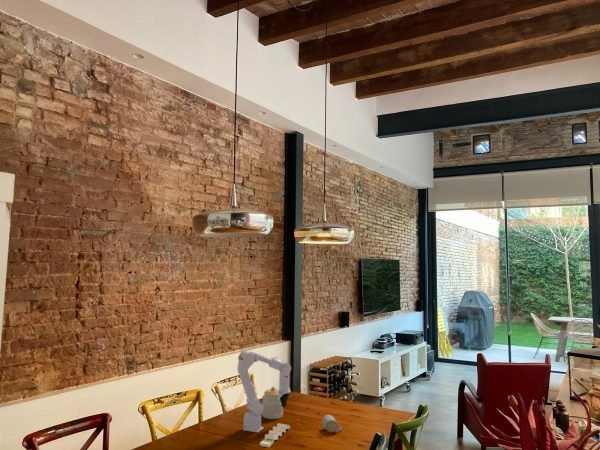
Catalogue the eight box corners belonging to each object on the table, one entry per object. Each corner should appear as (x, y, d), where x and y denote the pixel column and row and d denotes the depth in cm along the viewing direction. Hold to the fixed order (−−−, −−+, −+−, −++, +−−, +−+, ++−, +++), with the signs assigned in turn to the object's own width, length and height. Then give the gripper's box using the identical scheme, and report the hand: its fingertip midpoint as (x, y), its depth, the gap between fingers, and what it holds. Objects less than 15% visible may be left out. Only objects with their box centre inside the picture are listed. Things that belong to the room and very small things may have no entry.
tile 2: (277, 431, 258) (272, 430, 252) (278, 427, 259) (273, 426, 253) (285, 432, 256) (280, 431, 250) (286, 428, 257) (281, 427, 251)
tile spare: (265, 442, 242) (259, 446, 236) (265, 438, 243) (259, 442, 236) (273, 443, 241) (268, 448, 234) (274, 439, 241) (268, 444, 234)
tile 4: (268, 438, 246) (264, 438, 240) (269, 434, 247) (265, 434, 241) (277, 439, 245) (273, 439, 239) (278, 435, 246) (274, 435, 239)
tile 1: (281, 428, 263) (276, 426, 257) (282, 424, 264) (277, 423, 258) (289, 429, 261) (285, 428, 255) (290, 425, 262) (285, 424, 256)
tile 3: (273, 434, 252) (268, 434, 246) (273, 430, 253) (269, 430, 247) (281, 435, 251) (277, 435, 245) (282, 431, 252) (277, 431, 246)
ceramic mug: (325, 433, 255) (326, 419, 256) (321, 428, 263) (322, 414, 264) (343, 432, 258) (344, 418, 258) (339, 427, 266) (339, 413, 266)
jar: (280, 420, 276) (280, 390, 278) (259, 418, 279) (260, 388, 280) (285, 413, 289) (285, 385, 290) (265, 412, 291) (266, 383, 293)
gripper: (286, 386, 263) (285, 411, 261) (294, 380, 276) (294, 404, 275) (274, 385, 265) (274, 409, 264) (283, 379, 279) (283, 402, 277)
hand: (283, 406), depth 269 cm, fingers closed
